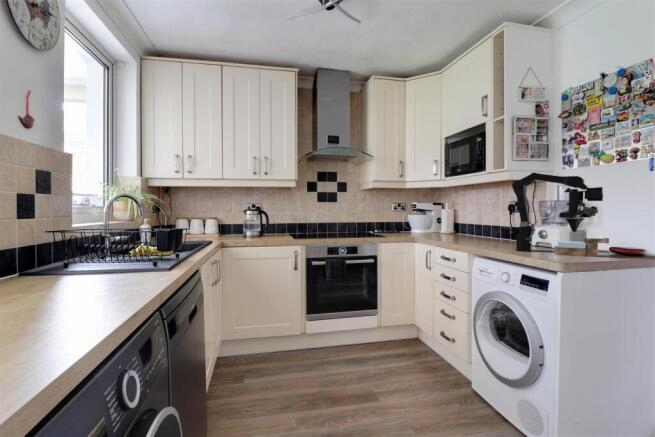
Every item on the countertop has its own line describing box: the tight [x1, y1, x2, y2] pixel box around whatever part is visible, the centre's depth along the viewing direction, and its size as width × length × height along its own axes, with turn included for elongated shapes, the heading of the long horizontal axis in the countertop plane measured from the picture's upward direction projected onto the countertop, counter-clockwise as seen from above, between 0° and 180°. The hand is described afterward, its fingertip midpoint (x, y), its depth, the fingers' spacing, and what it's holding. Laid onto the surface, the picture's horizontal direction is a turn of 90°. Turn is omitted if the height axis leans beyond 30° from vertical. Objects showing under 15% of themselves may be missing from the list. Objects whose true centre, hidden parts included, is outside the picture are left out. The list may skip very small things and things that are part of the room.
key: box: [586, 237, 610, 244], centre depth 154 cm, size 8×3×2 cm, turn 63°
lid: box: [554, 240, 586, 248], centre depth 159 cm, size 11×7×2 cm, turn 63°
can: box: [568, 228, 587, 243], centre depth 173 cm, size 8×8×12 cm
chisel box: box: [554, 237, 599, 258], centre depth 158 cm, size 16×6×8 cm, turn 63°
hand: (574, 232), depth 158 cm, fingers closed
